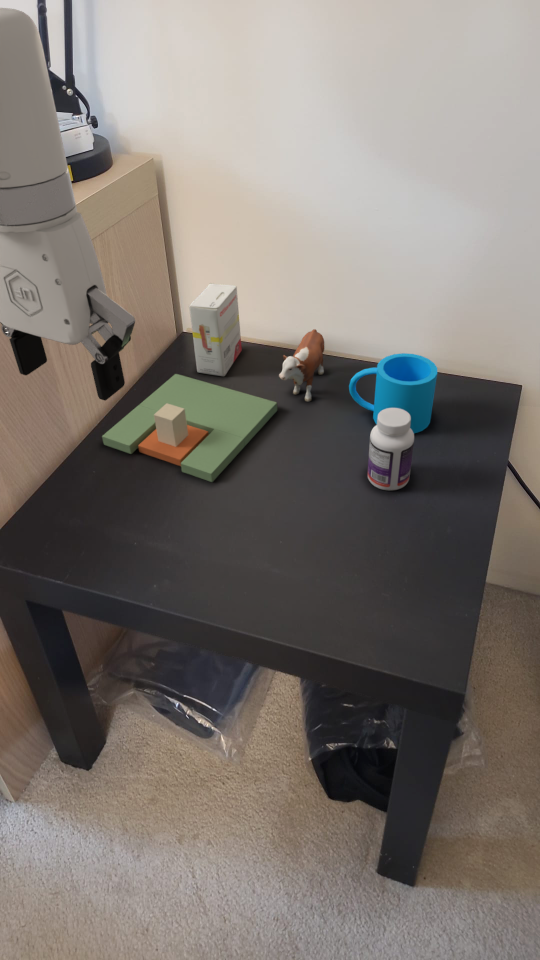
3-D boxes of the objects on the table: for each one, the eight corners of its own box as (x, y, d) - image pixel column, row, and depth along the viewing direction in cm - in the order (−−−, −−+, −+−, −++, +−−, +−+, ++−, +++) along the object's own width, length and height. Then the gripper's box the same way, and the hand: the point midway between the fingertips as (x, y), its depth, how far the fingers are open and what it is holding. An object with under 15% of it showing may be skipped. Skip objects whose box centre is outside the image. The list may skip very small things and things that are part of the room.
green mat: (103, 444, 96) (101, 436, 95) (176, 381, 108) (175, 373, 107) (212, 482, 89) (211, 473, 88) (277, 410, 101) (277, 402, 100)
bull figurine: (275, 409, 101) (273, 361, 96) (306, 364, 110) (306, 318, 105) (303, 415, 100) (303, 367, 94) (332, 369, 109) (333, 322, 104)
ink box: (215, 346, 115) (209, 280, 108) (243, 350, 114) (238, 284, 106) (195, 373, 109) (187, 304, 102) (224, 377, 108) (217, 308, 100)
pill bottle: (401, 462, 91) (409, 401, 85) (414, 488, 87) (423, 427, 81) (362, 467, 90) (366, 406, 84) (373, 494, 86) (378, 432, 80)
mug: (434, 406, 100) (441, 357, 95) (425, 438, 95) (432, 389, 89) (354, 393, 104) (357, 346, 98) (341, 424, 98) (343, 375, 92)
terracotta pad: (139, 452, 94) (132, 418, 91) (168, 425, 99) (163, 392, 95) (181, 466, 92) (176, 432, 88) (209, 438, 96) (205, 404, 93)
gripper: (-87, 197, 55) (-22, 378, 66) (77, 230, 49) (119, 424, 60) (-18, 170, 60) (32, 343, 71) (141, 197, 54) (168, 382, 65)
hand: (72, 380), depth 66 cm, fingers open, 9 cm apart
